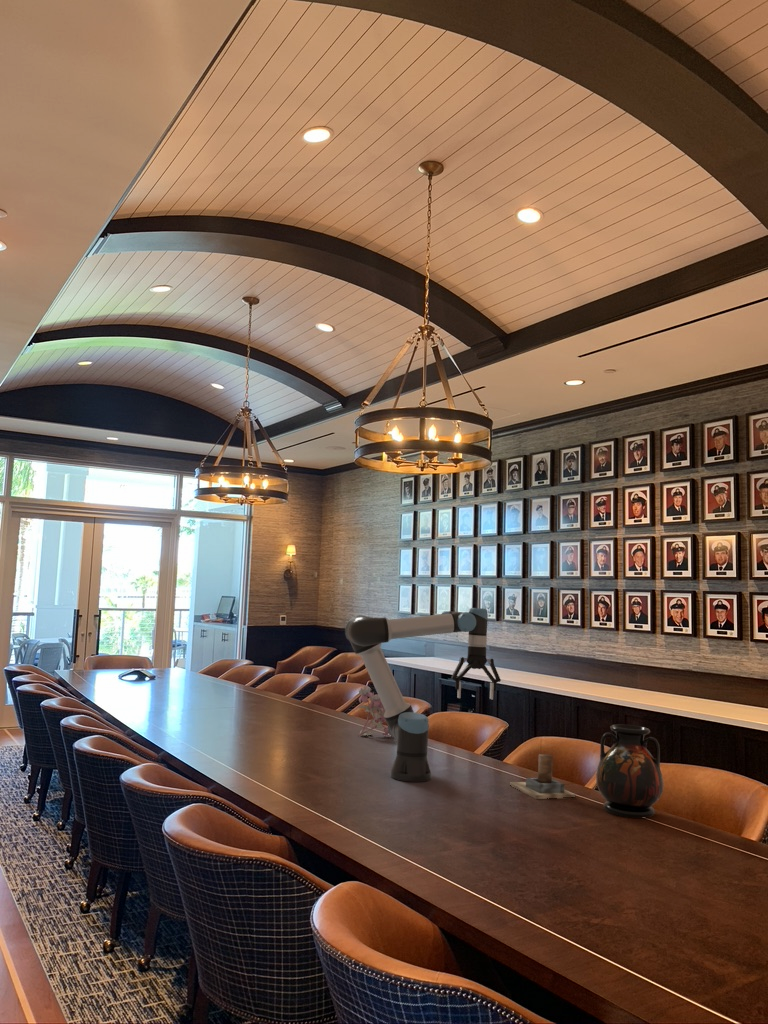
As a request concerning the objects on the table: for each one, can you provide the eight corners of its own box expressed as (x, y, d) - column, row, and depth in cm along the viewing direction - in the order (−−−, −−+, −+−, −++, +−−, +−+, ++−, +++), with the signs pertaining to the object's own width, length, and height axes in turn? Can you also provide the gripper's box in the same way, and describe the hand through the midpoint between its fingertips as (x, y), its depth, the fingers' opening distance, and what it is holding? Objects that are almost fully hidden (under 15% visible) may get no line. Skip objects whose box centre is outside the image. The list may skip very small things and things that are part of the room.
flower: (378, 739, 366) (397, 690, 376) (340, 728, 378) (359, 681, 389) (396, 753, 380) (414, 705, 391) (359, 742, 393) (377, 696, 403)
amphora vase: (591, 815, 253) (593, 727, 257) (599, 801, 273) (600, 720, 277) (661, 825, 245) (662, 734, 249) (664, 810, 265) (664, 726, 269)
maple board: (535, 798, 271) (536, 786, 272) (509, 785, 290) (509, 774, 291) (575, 798, 276) (576, 785, 277) (547, 784, 295) (547, 773, 296)
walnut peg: (541, 791, 278) (542, 756, 280) (535, 788, 283) (536, 754, 285) (554, 791, 280) (555, 756, 281) (547, 787, 285) (548, 754, 286)
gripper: (504, 646, 324) (502, 698, 322) (445, 643, 321) (443, 696, 318) (509, 647, 317) (507, 700, 314) (449, 644, 314) (447, 698, 311)
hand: (475, 698), depth 316 cm, fingers open, 13 cm apart
